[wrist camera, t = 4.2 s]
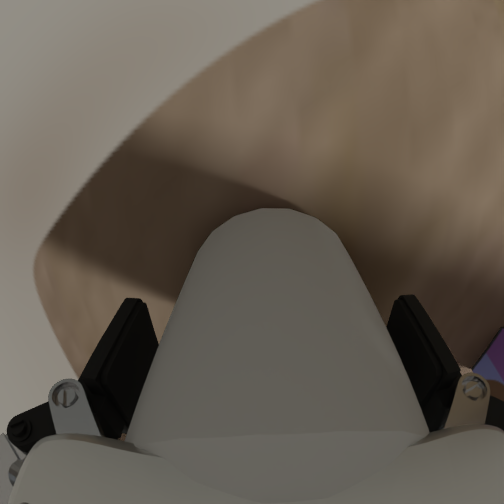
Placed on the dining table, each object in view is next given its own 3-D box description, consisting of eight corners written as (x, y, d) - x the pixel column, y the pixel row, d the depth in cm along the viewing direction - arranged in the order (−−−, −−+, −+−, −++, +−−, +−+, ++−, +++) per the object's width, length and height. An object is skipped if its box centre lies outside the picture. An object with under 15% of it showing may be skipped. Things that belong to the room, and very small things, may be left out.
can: (215, 337, 16) (178, 547, 5) (179, 214, 13) (20, 480, 2) (345, 323, 15) (398, 534, 5) (345, 192, 12) (531, 458, 1)
